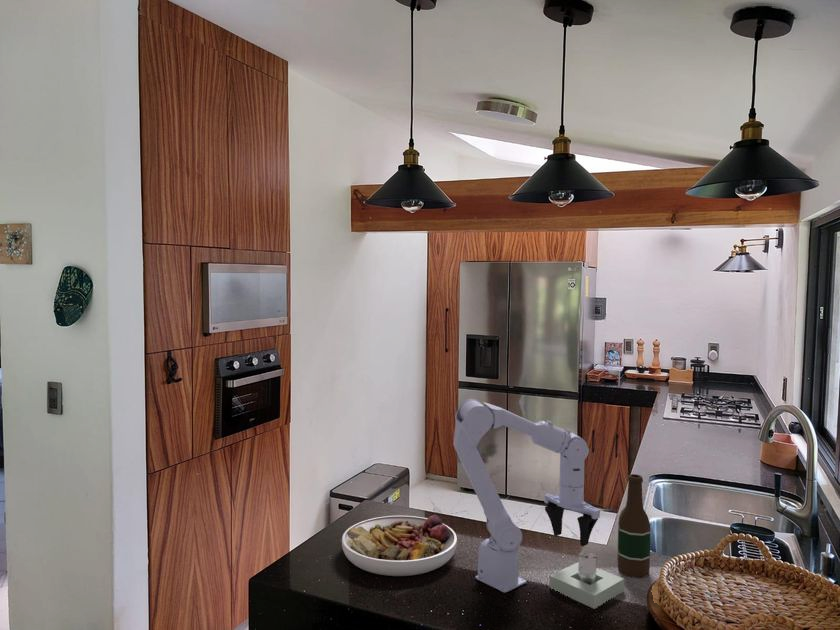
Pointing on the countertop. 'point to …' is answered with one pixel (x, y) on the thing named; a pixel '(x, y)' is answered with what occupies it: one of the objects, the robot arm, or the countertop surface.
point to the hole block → (587, 586)
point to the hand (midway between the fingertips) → (570, 539)
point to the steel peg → (587, 568)
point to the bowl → (399, 544)
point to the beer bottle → (634, 533)
